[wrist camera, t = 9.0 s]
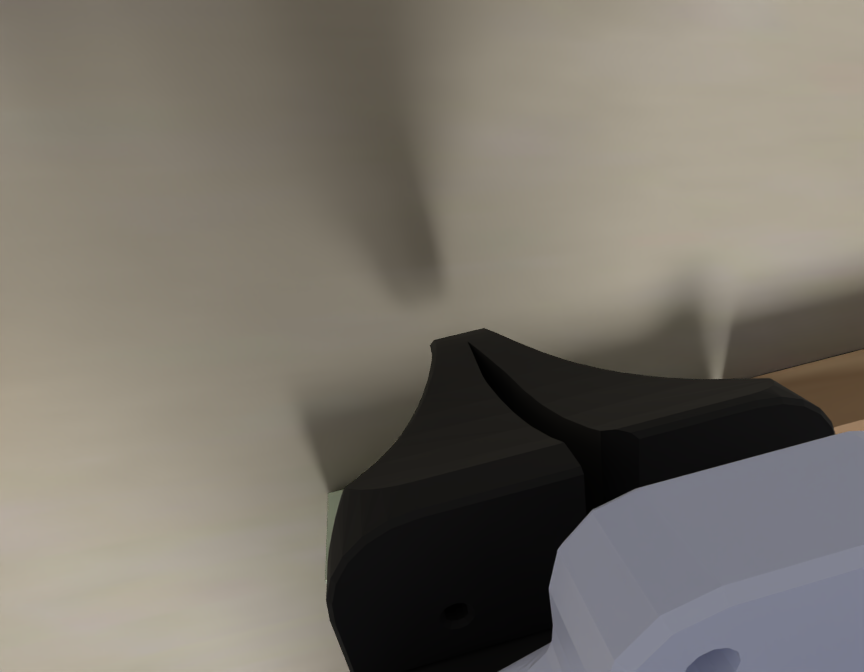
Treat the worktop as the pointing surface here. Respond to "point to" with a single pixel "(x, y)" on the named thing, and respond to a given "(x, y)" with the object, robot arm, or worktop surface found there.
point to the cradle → (830, 388)
